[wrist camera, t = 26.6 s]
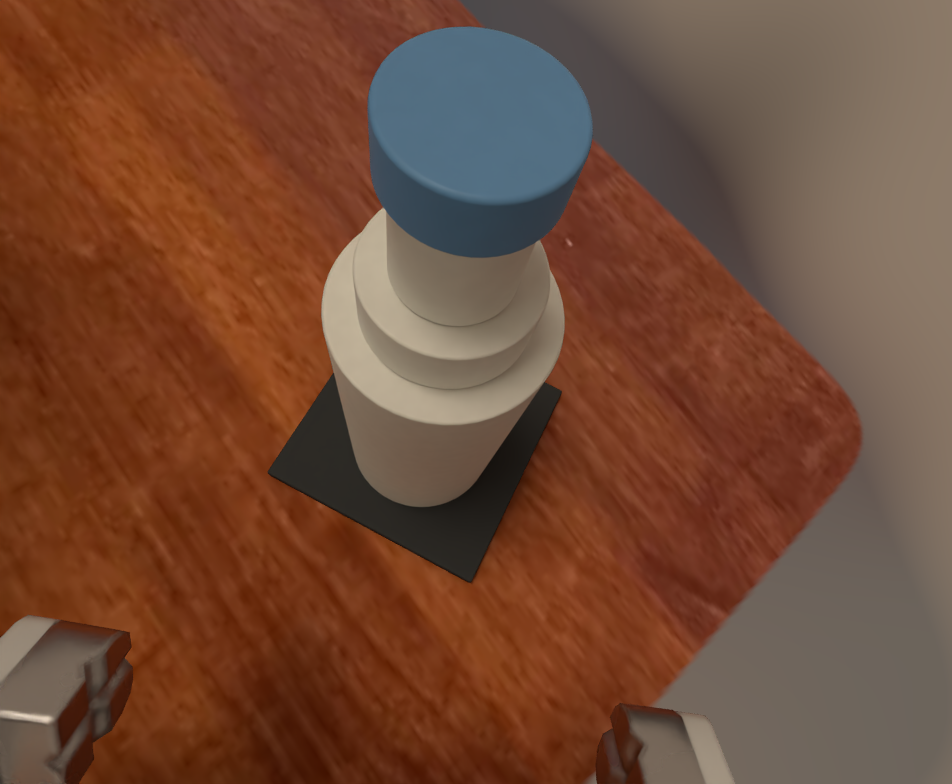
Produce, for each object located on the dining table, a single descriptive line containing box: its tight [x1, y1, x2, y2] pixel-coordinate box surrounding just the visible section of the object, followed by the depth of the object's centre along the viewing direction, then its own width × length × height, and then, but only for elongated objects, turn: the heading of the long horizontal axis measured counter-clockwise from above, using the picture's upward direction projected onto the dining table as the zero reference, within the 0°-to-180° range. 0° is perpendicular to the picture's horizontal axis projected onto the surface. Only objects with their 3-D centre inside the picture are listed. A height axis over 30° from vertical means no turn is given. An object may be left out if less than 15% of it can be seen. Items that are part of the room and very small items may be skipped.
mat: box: [268, 373, 562, 582], centre depth 21 cm, size 8×8×1 cm
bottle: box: [321, 27, 593, 507], centre depth 14 cm, size 5×5×15 cm
